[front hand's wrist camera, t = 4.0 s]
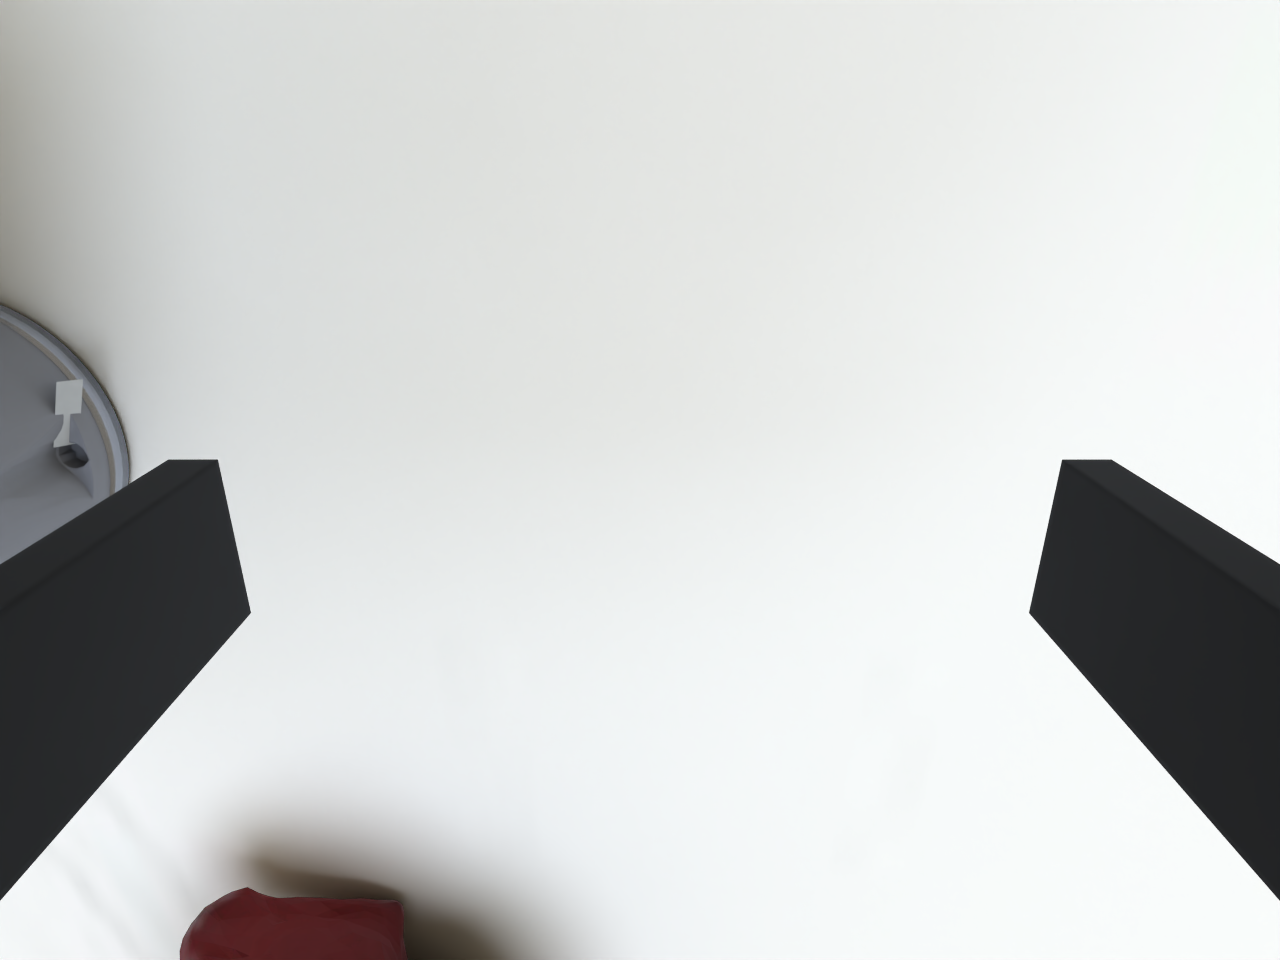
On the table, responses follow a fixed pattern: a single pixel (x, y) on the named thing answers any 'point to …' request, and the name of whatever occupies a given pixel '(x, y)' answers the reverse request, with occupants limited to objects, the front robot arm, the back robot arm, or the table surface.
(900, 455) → the table surface
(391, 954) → the dark red rounded piece
